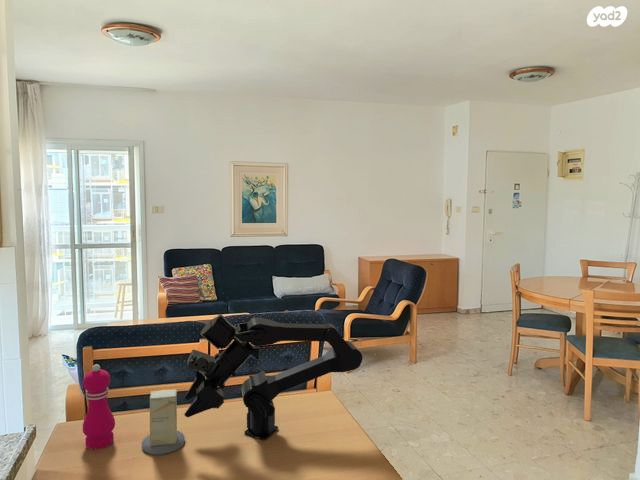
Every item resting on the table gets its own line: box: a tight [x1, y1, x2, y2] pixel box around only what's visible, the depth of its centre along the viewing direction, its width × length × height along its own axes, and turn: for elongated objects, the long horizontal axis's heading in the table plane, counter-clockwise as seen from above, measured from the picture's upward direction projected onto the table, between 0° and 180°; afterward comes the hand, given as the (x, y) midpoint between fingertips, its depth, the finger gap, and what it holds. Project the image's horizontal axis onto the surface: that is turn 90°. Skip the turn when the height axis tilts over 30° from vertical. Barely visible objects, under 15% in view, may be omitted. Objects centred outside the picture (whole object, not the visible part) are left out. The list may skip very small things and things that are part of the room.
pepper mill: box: [82, 363, 116, 450], centre depth 116 cm, size 7×7×20 cm
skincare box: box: [149, 388, 178, 446], centre depth 116 cm, size 6×4×12 cm
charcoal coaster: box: [141, 430, 186, 456], centre depth 117 cm, size 10×10×1 cm
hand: (185, 407), depth 117 cm, fingers open, 9 cm apart
